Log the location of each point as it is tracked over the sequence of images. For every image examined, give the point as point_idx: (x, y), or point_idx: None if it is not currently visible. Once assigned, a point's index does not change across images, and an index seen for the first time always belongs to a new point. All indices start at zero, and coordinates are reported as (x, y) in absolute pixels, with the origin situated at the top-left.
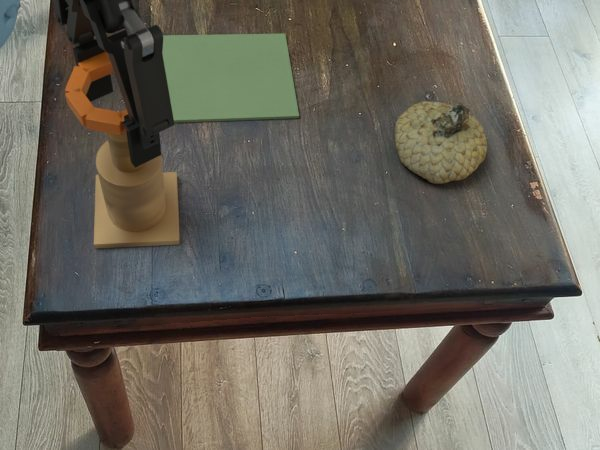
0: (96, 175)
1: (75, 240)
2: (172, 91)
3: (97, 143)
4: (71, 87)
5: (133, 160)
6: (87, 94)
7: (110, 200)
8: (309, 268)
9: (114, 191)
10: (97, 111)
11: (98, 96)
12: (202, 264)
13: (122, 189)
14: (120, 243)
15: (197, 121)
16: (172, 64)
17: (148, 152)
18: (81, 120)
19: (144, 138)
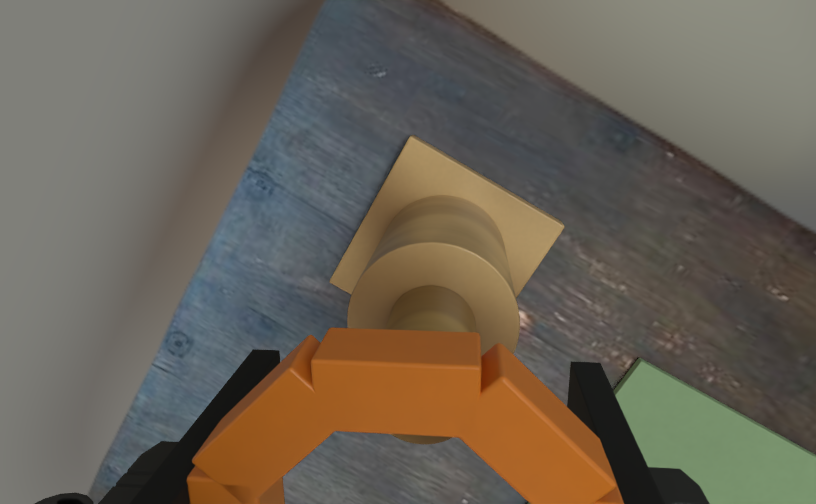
0: (561, 226)
1: (452, 109)
2: (660, 462)
3: (645, 269)
4: (500, 409)
5: (243, 366)
6: (578, 389)
7: (415, 220)
8: (180, 427)
9: (389, 243)
10: (302, 430)
11: (568, 405)
12: (275, 287)
13: (370, 263)
14: (384, 183)
15: None
16: (723, 501)
17: None
18: (329, 342)
19: (108, 495)
